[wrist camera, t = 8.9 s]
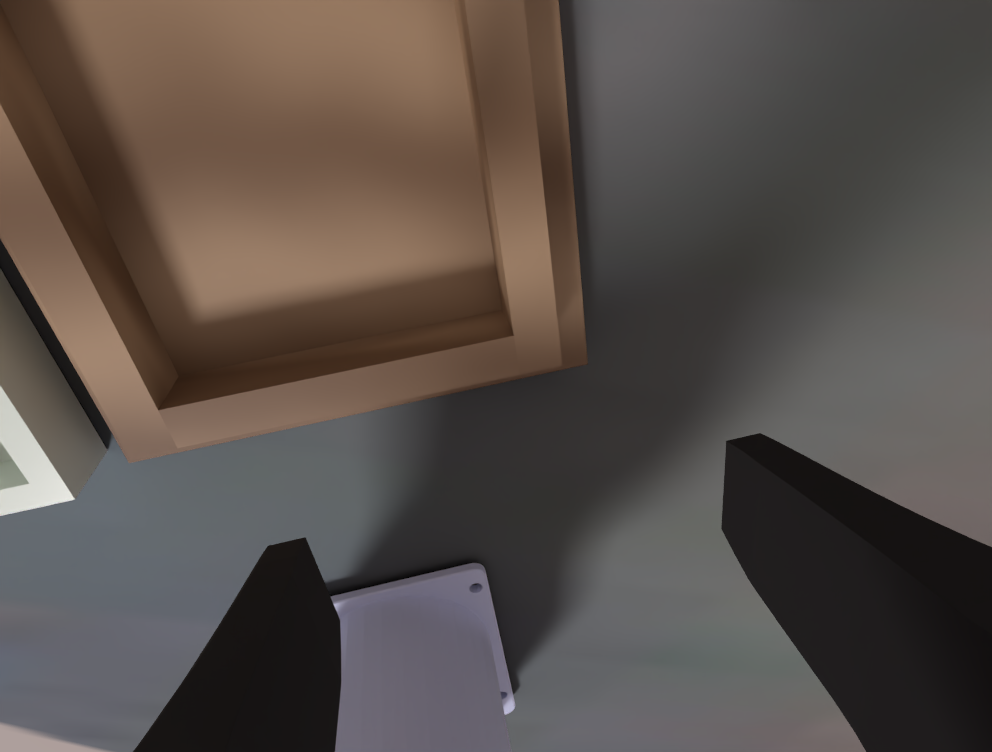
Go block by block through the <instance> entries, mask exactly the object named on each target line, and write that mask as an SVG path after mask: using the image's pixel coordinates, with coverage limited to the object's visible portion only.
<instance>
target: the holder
mask: <svg viewBox="0 0 992 752" xmlns="http://www.w3.org/2000/svg"><path fill="white" fill-rule="evenodd" d="M0 239H1V241H2V242H3V244H4V246H5V247H6V249H7V251H8V253H9V254H10V256H11V258H12V260H13V261H14V263H15V265H16V267H17V268H18V270H19V272H20V274H21V275H22V277H23V279H24V281H25V282H26V284H27V286H28V288H29V289H30V291H31V293H32V295H33V296H34V298H35V300H36V302H37V303H38V305H39V307H40V308H41V310H42V312H43V314H44V315H45V317H46V319H47V321H48V322H49V324H50V326H51V328H52V329H53V331H54V333H55V335H56V336H57V338H58V340H59V342H60V343H61V345H62V347H63V349H64V350H65V352H66V354H67V356H68V357H69V359H70V361H71V363H72V364H73V366H74V368H75V369H76V371H77V373H78V375H79V376H80V378H81V380H82V382H83V383H84V385H85V387H86V389H87V390H88V392H89V394H90V396H91V397H92V399H93V401H94V403H95V404H96V406H97V408H98V410H99V411H100V413H101V415H102V417H103V418H104V420H105V422H106V424H107V425H108V427H109V429H110V430H111V432H112V434H113V436H114V437H115V439H116V441H117V443H118V444H119V446H120V448H121V450H122V451H123V453H124V455H125V457H126V458H127V460H128V462H129V463H132V462H136V461H141V460H146V459H150V458H155V457H160V456H164V455H169V454H174V453H178V452H183V451H187V450H192V449H197V448H201V447H206V446H211V445H215V444H220V443H225V442H229V441H234V440H238V439H243V438H248V437H252V436H257V435H262V434H266V433H271V432H276V431H280V430H285V429H290V428H294V427H299V426H303V425H308V424H313V423H317V422H322V421H327V420H331V419H336V418H341V417H345V416H350V415H355V414H359V413H364V412H368V411H373V410H378V409H382V408H387V407H392V406H396V405H401V404H406V403H410V402H415V401H420V400H424V399H429V398H433V397H438V396H443V395H447V394H452V393H457V392H461V391H466V390H471V389H475V388H480V387H485V386H489V385H494V384H498V383H503V382H508V381H512V380H517V379H522V378H526V377H531V376H536V375H540V374H545V373H550V372H554V371H559V370H563V369H568V368H573V367H577V366H582V365H587V364H588V359H587V347H586V334H585V322H584V310H583V297H582V285H581V272H580V260H579V248H578V235H577V223H576V210H575V198H574V185H573V173H572V161H571V148H570V136H569V123H568V111H567V99H566V86H565V74H564V61H563V49H562V37H561V24H560V12H559V0H0Z"/></svg>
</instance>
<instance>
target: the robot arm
mask: <svg viewBox="0 0 992 752" xmlns="http://www.w3.org/2000/svg"><path fill="white" fill-rule="evenodd" d="M722 531H723V533H724V534H725V536H726V538H727V540H728V542H729V544H730V546H731V548H732V550H733V552H734V554H735V556H736V558H737V559H738V561H739V563H740V565H741V567H742V568H743V570H744V572H745V574H746V575H747V577H748V579H749V581H750V582H751V584H752V585H753V587H754V588H755V590H756V591H757V593H758V594H759V595H760V597H761V598H762V600H763V601H764V603H765V604H766V605H767V607H768V608H769V610H770V611H771V613H772V614H773V615H774V617H775V618H776V620H777V621H778V623H779V624H780V625H781V627H782V628H783V630H784V631H785V632H786V634H787V635H788V637H789V638H790V639H791V641H792V642H793V644H794V645H795V646H796V648H797V649H798V651H799V652H800V653H801V655H802V656H803V658H804V659H805V660H806V662H807V663H808V665H809V666H810V667H811V669H812V670H813V672H814V673H815V674H816V676H817V677H818V679H819V680H820V681H821V683H822V684H823V686H824V687H825V688H826V690H827V691H828V693H829V694H830V695H831V697H832V698H833V700H834V701H835V703H836V704H837V706H838V707H839V709H840V710H841V712H842V713H843V715H844V716H845V718H846V719H847V721H848V722H849V724H850V725H851V727H852V728H853V730H854V732H855V733H856V735H857V737H858V738H859V740H860V742H861V743H862V745H863V747H864V748H865V750H866V752H992V547H990V546H987V545H985V544H983V543H980V542H978V541H976V540H973V539H971V538H969V537H967V536H965V535H962V534H960V533H958V532H956V531H954V530H952V529H949V528H947V527H945V526H943V525H941V524H938V523H936V522H934V521H932V520H930V519H927V518H925V517H923V516H921V515H919V514H917V513H915V512H913V511H911V510H909V509H907V508H905V507H902V506H900V505H898V504H896V503H894V502H892V501H890V500H888V499H886V498H884V497H882V496H880V495H878V494H876V493H874V492H872V491H871V490H869V489H867V488H865V487H863V486H861V485H859V484H857V483H855V482H853V481H851V480H849V479H847V478H845V477H843V476H842V475H840V474H838V473H836V472H834V471H832V470H830V469H828V468H826V467H825V466H823V465H821V464H819V463H817V462H815V461H813V460H811V459H810V458H808V457H806V456H804V455H802V454H800V453H798V452H796V451H794V450H793V449H791V448H789V447H787V446H785V445H783V444H781V443H779V442H777V441H775V440H773V439H771V438H769V437H767V436H765V435H763V434H761V433H759V434H755V435H750V436H746V437H742V438H737V439H733V440H729V441H726V458H725V476H724V493H723V511H722ZM475 583H479V584H477V585H472V584H475ZM514 708H515V701H514V696H513V692H512V687H511V683H510V678H509V674H508V669H507V665H506V660H505V656H504V651H503V647H502V642H501V638H500V633H499V629H498V624H497V620H496V615H495V611H494V606H493V602H492V597H491V593H490V588H489V584H488V580H487V575H486V571H485V568H484V566H483V565H481V564H478V563H470V564H465V565H461V566H457V567H453V568H448V569H444V570H440V571H436V572H432V573H427V574H423V575H419V576H415V577H410V578H406V579H402V580H398V581H394V582H389V583H385V584H381V585H377V586H372V587H368V588H364V589H360V590H356V591H351V592H347V593H343V594H339V595H334V596H330V595H329V592H328V590H327V588H326V585H325V583H324V580H323V578H322V576H321V573H320V571H319V569H318V566H317V564H316V561H315V559H314V557H313V554H312V552H311V549H310V547H309V545H308V542H307V540H306V538H301V539H296V540H292V541H288V542H283V543H279V544H275V545H270V546H268V547H267V548H266V550H265V551H264V552H263V554H262V556H261V557H260V559H259V560H258V562H257V564H256V565H255V567H254V569H253V570H252V572H251V574H250V575H249V577H248V578H247V580H246V582H245V583H244V585H243V587H242V588H241V590H240V592H239V593H238V595H237V597H236V598H235V600H234V602H233V603H232V605H231V607H230V608H229V610H228V611H227V613H226V615H225V616H224V618H223V620H222V621H221V623H220V624H219V626H218V628H217V629H216V631H215V632H214V634H213V635H212V637H211V639H210V640H209V642H208V643H207V645H206V646H205V648H204V650H203V651H202V653H201V654H200V656H199V657H198V659H197V660H196V662H195V664H194V665H193V667H192V668H191V670H190V671H189V673H188V674H187V676H186V677H185V679H184V680H183V682H182V683H181V685H180V686H179V688H178V689H177V690H176V692H175V693H174V695H173V696H172V698H171V699H170V701H169V702H168V703H167V705H166V706H165V708H164V709H163V711H162V712H161V713H160V715H159V716H158V718H157V719H156V721H155V722H154V723H153V725H152V726H151V728H150V729H149V731H148V732H147V733H146V735H145V736H144V738H143V739H142V740H141V742H140V743H139V745H138V746H137V747H136V749H135V750H134V751H133V752H511V747H510V741H509V736H508V730H507V725H506V720H505V714H508V713H510V712H512V711H513V710H514Z"/></svg>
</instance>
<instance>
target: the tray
mask: <svg viewBox="0 0 992 752" xmlns="http://www.w3.org/2000/svg"><path fill="white" fill-rule="evenodd" d="M107 451H108V450H107V449H106V447H105V445H104V444H103V442H102V440H101V439H100V437H99V435H98V433H97V432H96V430H95V428H94V427H93V425H92V423H91V422H90V420H89V418H88V416H87V415H86V413H85V411H84V410H83V408H82V406H81V405H80V403H79V401H78V399H77V398H76V396H75V394H74V393H73V391H72V389H71V388H70V386H69V384H68V383H67V381H66V379H65V377H64V376H63V374H62V372H61V371H60V369H59V367H58V366H57V364H56V362H55V360H54V359H53V357H52V355H51V354H50V352H49V350H48V349H47V347H46V345H45V343H44V342H43V340H42V338H41V337H40V335H39V333H38V332H37V330H36V328H35V326H34V325H33V323H32V321H31V320H30V318H29V316H28V315H27V313H26V311H25V309H24V308H23V306H22V304H21V303H20V301H19V299H18V298H17V296H16V294H15V292H14V291H13V289H12V287H11V286H10V284H9V282H8V281H7V279H6V277H5V276H4V274H3V272H2V270H1V269H0V516H2V515H6V514H11V513H16V512H20V511H25V510H29V509H34V508H38V507H43V506H48V505H52V504H57V503H61V502H66V501H71V500H75V499H76V497H77V496H78V494H79V493H80V491H81V490H82V488H83V487H84V485H85V484H86V482H87V481H88V479H89V478H90V476H91V475H92V473H93V472H94V470H95V469H96V467H97V466H98V464H99V463H100V461H101V460H102V458H103V457H104V455H105V454H106V452H107Z"/></svg>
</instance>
